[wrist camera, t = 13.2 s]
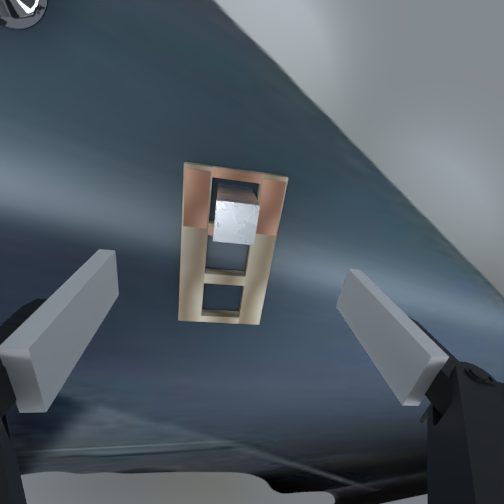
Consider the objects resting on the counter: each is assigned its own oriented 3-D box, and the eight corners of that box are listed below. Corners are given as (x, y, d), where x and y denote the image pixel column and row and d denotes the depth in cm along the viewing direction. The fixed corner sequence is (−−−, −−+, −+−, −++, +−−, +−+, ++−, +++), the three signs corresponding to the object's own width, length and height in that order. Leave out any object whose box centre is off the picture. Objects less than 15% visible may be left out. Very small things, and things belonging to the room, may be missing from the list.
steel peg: (215, 214, 33) (212, 241, 24) (218, 182, 31) (216, 200, 23) (246, 217, 33) (253, 245, 25) (251, 186, 31) (260, 205, 23)
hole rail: (180, 313, 38) (178, 321, 37) (185, 161, 29) (183, 163, 28) (257, 317, 40) (259, 325, 39) (285, 175, 31) (288, 178, 30)
